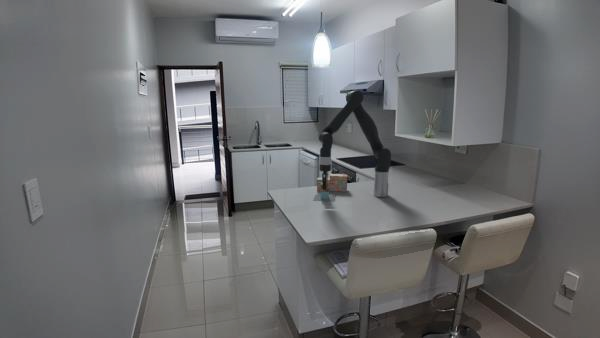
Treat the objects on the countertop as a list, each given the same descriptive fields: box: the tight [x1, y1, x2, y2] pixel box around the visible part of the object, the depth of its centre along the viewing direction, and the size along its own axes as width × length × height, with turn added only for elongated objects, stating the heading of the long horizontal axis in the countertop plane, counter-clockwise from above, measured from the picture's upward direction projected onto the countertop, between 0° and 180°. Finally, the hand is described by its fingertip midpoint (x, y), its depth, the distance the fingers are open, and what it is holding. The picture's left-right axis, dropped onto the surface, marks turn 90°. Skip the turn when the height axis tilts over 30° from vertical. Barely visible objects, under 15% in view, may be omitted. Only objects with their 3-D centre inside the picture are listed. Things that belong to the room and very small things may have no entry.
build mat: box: [312, 194, 337, 203], centre depth 216 cm, size 14×14×1 cm
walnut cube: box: [320, 182, 330, 193], centre depth 214 cm, size 5×5×5 cm
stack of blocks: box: [316, 173, 348, 193], centre depth 234 cm, size 21×6×12 cm, turn 83°
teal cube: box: [320, 191, 330, 199], centre depth 215 cm, size 5×5×5 cm
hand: (325, 187), depth 214 cm, fingers open, 8 cm apart
